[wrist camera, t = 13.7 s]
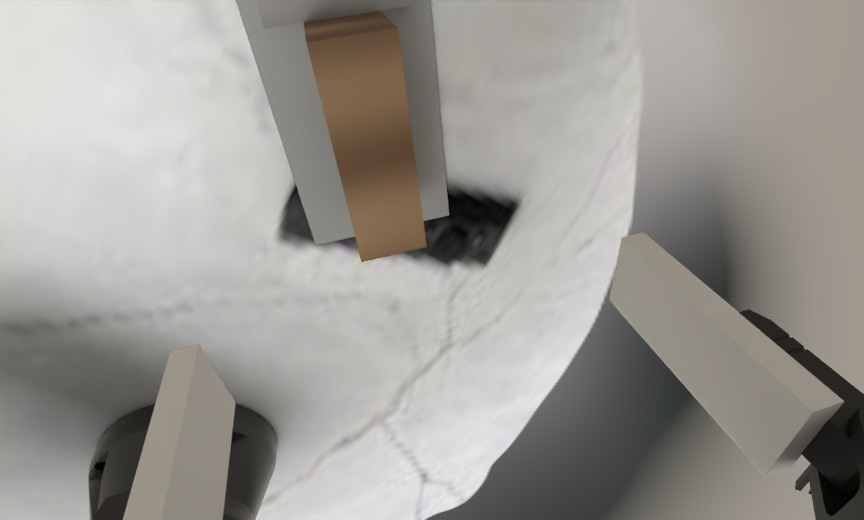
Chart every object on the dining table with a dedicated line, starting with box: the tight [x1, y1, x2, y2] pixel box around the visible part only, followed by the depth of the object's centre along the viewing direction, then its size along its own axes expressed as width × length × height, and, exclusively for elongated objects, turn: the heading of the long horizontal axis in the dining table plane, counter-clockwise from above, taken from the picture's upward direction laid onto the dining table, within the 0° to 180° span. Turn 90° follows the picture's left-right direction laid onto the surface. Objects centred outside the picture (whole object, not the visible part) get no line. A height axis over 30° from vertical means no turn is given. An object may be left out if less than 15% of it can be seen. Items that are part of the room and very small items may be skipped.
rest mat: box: [236, 0, 449, 245], centre depth 25 cm, size 24×10×1 cm, turn 6°
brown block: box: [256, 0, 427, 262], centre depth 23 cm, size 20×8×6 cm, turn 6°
